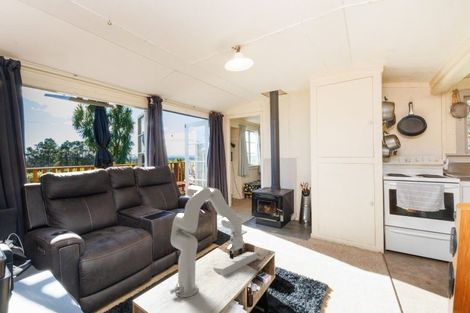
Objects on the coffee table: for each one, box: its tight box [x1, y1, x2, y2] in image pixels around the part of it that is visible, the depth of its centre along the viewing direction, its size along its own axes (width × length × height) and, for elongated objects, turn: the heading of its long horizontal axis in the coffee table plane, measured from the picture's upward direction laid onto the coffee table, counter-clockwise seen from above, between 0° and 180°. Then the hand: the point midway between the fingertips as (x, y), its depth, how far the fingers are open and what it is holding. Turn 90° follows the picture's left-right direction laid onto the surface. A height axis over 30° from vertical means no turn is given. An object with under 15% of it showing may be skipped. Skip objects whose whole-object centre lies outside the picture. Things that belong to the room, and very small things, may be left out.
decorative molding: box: [212, 251, 258, 277], centre depth 151 cm, size 34×5×10 cm
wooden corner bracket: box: [233, 242, 255, 258], centre depth 165 cm, size 17×9×6 cm, turn 139°
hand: (235, 256), depth 153 cm, fingers open, 9 cm apart
